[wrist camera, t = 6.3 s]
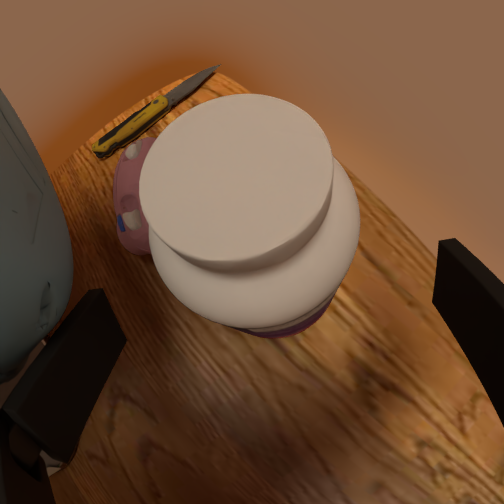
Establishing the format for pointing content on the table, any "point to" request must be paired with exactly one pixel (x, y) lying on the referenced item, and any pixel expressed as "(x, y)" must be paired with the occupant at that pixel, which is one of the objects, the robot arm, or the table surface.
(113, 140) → the utility knife
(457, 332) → the robot arm
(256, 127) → the pill bottle
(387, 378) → the table surface
